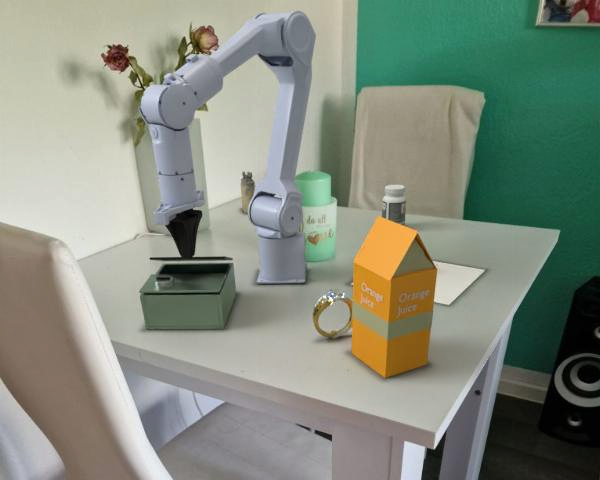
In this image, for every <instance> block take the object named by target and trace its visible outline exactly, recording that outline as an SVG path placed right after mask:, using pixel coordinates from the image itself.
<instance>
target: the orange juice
mask: <svg viewBox="0 0 600 480" xmlns="http://www.w3.org/2000/svg"><path fill="white" fill-rule="evenodd" d="M433 261H434V260H433V259H432V258H431V255H430V253H429V252H428V249H427V248H426V245H425V244H424V242H423V240H422V238H421V236H420V235H419V231H418V230H416V229H413V228H410V227H408V226H403V225H400V224H398V223H395V222H393V221H390V220H388V219H385V218H382V216H380V215H378V216H377V217H376V219H375V220H374V223H373V225H372V227H371V228H370V230H369V232H368V234H367V236H366V237H365V239H364V241H363V243H362V245H361V247H360V248H359V250H358V251H357V254H356V255H355V257H354V259H353V275H352V276H353V278H352V279H353V280H352V283H353V285H352V327H351V354H352V355H354V356H355V357H356V358H357V359H359V360H360V361H362V363H364V364H365V365H367V366H368V367H369V368H371V369H372V370H373V371H375V372H376V373H378V374H379V375H380V376H381V377H383V378H384V379H387V378H389V377H392V376H396V375H399V374H402V373H406V372H408V371H411V370H414V369H417V368H418V369H419V368H421V367H424V366H427V365H428V359H429V352H430V351H429V350H430V340H431V332H432V327H433V319H434V318H433V317H434V306H435V305H434V304H435V302H434V296H435V287H436V278H437V269H438V268H436V267H435V265H434V263H433Z"/></svg>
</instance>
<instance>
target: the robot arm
mask: <svg viewBox="0 0 600 480" xmlns="http://www.w3.org/2000/svg"><path fill="white" fill-rule="evenodd" d="M316 38H317V34H316V32H315V29H314V27H313V25H312V23H311V21H310V18H309V16H308V15H307V14H306V13H305V12H304V11H301V10H293V11H288V12H275V13H274V12H272V13H265V12H260V13H257V14H255V15H254V16H253V18H250V19H248V20H246V21H245V22H244V25H243V26H242V27H241V28H239V30H238V31H236V32H235V33H234V34H233V35H232V36H231V37H230V38H228V39H227V40H226V41H225V42H224V43H223V44H222V45H221V46H220V47H219V48H217V49H216V50H215V51H214V52H213V53H212V54H210V56H209V55H207V54H203V53H199V54H197V53H190V54H189V55H187V56H186V57H185V61H186V63H185V64H184V65H182V66H181V67H180V68H178V69H177V70H175V71H174V72H173V73H171V72H168V73H166V74H165V75H164V76H163V79H164V80H163V82H162V84H151V85H148V86H147V87H146V88H145V90H144V91H143V93H142V96H141V99H140V106H138V112H139V115H140V117H141V118H142V120H143V121H144V122H145V124H146V125H147V127H148V130H149V135H150V137H151V141H152V142H151V144H152V149H153V155H154V160H155V161H154V162H155V169H156V173H157V180H158V187H159V192H160V198H161V201H160V203H159V204H158V206H157V208H156V210H155V211H153V212H152V213H153V218H154V219H153V220H154V224H155V225H156V226H164V227H165V228H166V230H168V233H169V234H170V236H171V237H172V239H173V242H174V244H175V247H176V249H177V251H178V253H179V257H190V258H191V257H195V254H196V247H197V239H198V238H197V237H198V231H199V227H200V223H201V220H202V218H203V211H202V210H201V209H194V208H201V207H203V206H204V205H205V203H206V202H205V201H206V200H205V194H204V193H205V192H204V190H203V189H202V190H201V189H197V184H196V183H197V182H196V177H195V168H194V161H193V154H192V153H193V152H192V144H191V136H190V130H189V128H190V126H191V124H192V123H193V122H194V118H195V113H196V111H198V110H199V109H200V108H201V107H202V106H204V105H205V104H206V103H207V102H209V101H210V100H211V99H212V98H214V97H215V96H216V95H217V94H219V93H220V92H221V91H222V89H223V86H224V78H225V77H226V76H228V75H229V74H231V73H232V72H233V71H235V70H236V69H238V68H239V67H241V66H242V65H243V64H245V63H246V62H248V61H249V60H251V59H253V58H254V57H255V56H256V57H258V58H259V60H260V61H262V62H263V63H264V65H265V66H266V67H267V68H268V69H269V70H270V71H271V72H272V73H273V74H274V76H275V78H276V80H277V81H278V90H277V97H276V102H275V108H274V109H275V110H274V116H273V122H272V129H271V135H270V141H269V149H268V156H267V163H266V168H265V174H264V175H265V176H264V177H263V178H262V179H261V180H260V181H259V182H257V184H256V185H255V190H254V195H253V197H252V199H251V201H250V203H249V206H248V213H247V217H248V221H249V222H250V224H252V225H253V226H254V232H255V233H257V245H258V246H257V247H258V258H259V259H258V260H259V272H258V275H257V279H256V284H259V285H261V284H264V285H265V284H304V283H305V284H306V276H307V271H308V261H307V252H306V248H307V247H306V246H307V245H306V233H305V232H303V231H302V232H300V231H299V230H300V228H301V225H302V224H303V220H304V211H303V199H304V195H303V193H302V191H301V190H300V189H299V188H298V186H297V184H296V183H295V180H296V173H297V168H298V162H299V158H300V151H301V150H300V149H301V145H302V139H303V134H304V127H305V120H306V116H307V111H308V110H307V109H308V104H309V98H310V91H311V85H312V79H313V67H312V65H313V64H312V61H313V55H314V49H315V44H316ZM278 196H279V197H278Z"/></svg>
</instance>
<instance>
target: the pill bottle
mask: <svg viewBox="0 0 600 480" xmlns="http://www.w3.org/2000/svg"><path fill="white" fill-rule="evenodd" d="M405 192H406V186H405V185H403V184H388V185H386V186H385V187H384V193H385V195H384V196H383V197H382V207H381V217H382V218H385V219H388V220H390V221H393V222H395V223H398V224H400V225H403V226H405V224H406V210H407V198H406V196H405V195H404V194H405Z"/></svg>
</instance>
